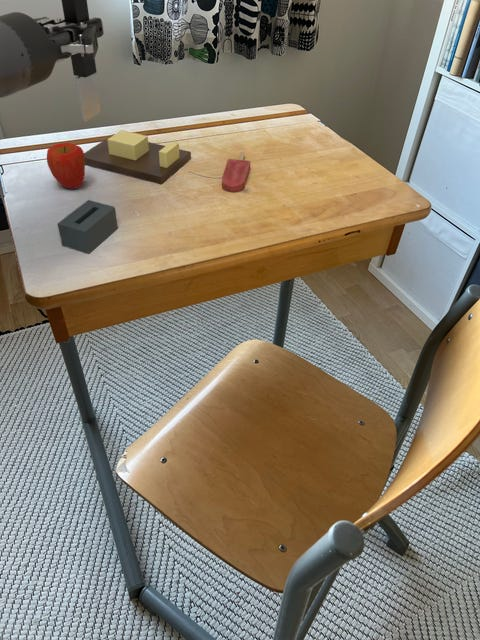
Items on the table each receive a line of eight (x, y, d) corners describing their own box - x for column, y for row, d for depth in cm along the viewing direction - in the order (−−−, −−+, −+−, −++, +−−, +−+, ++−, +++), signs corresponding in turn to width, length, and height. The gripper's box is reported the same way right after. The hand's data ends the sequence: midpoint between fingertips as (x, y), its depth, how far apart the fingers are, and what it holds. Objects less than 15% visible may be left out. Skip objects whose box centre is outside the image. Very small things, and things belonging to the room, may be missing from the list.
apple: (48, 192, 91) (39, 152, 86) (60, 176, 95) (51, 137, 90) (83, 195, 91) (76, 155, 86) (93, 179, 95) (86, 140, 90)
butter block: (109, 154, 100) (107, 139, 98) (123, 144, 103) (121, 129, 101) (135, 160, 98) (134, 145, 96) (149, 150, 102) (147, 135, 100)
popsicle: (253, 149, 103) (243, 185, 93) (253, 157, 105) (243, 194, 94) (231, 147, 104) (219, 183, 93) (231, 155, 105) (219, 191, 94)
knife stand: (62, 245, 79) (56, 223, 77) (92, 221, 85) (88, 199, 82) (89, 254, 78) (84, 231, 75) (118, 228, 84) (115, 206, 81)
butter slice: (159, 166, 97) (158, 151, 95) (172, 156, 100) (171, 141, 98) (167, 168, 97) (166, 153, 94) (179, 157, 100) (178, 142, 98)
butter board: (80, 163, 100) (78, 156, 99) (114, 140, 108) (113, 133, 107) (161, 184, 95) (161, 177, 94) (191, 158, 103) (190, 151, 102)
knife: (77, 120, 74) (56, -9, 64) (94, 111, 77) (75, -14, 66) (89, 123, 74) (69, -7, 63) (105, 113, 77) (88, -12, 66)
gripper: (44, 29, 54) (133, -1, 66) (-57, 11, 57) (44, -14, 69) (58, 102, 59) (138, 62, 71) (-36, 81, 62) (55, 47, 74)
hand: (91, 24), depth 70 cm, fingers closed on knife, 2 cm apart
